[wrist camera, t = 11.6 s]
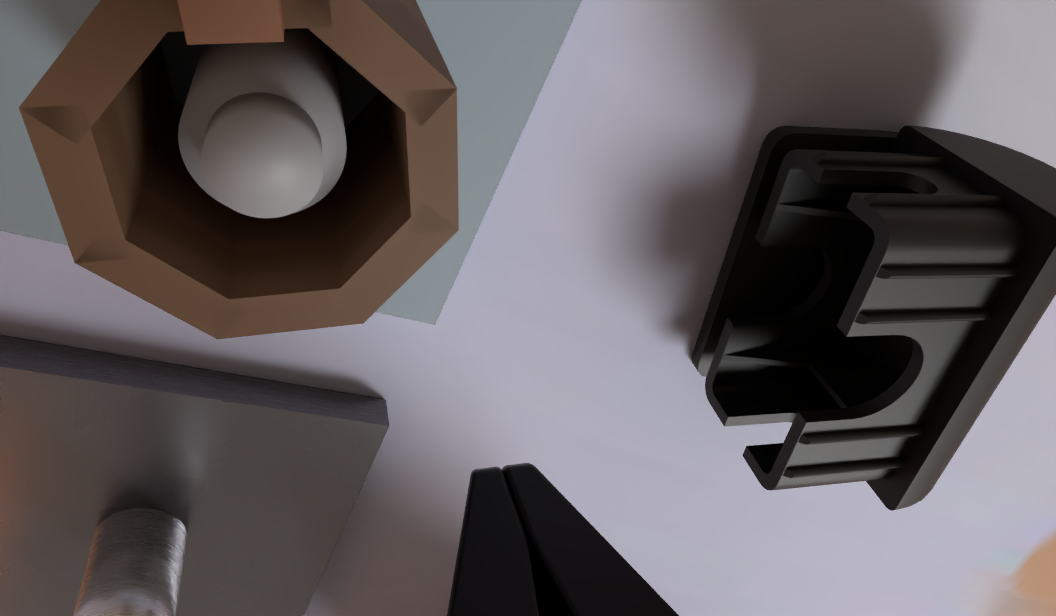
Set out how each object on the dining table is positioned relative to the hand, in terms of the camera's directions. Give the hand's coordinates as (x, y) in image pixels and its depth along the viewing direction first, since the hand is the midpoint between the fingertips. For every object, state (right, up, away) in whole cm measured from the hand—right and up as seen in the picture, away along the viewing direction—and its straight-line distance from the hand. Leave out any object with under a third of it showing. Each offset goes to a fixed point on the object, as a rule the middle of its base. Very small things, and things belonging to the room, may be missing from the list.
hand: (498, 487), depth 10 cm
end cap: (+10, +4, +15) cm, 19 cm away
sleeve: (-5, +8, +6) cm, 11 cm away
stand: (-12, -4, +14) cm, 19 cm away
